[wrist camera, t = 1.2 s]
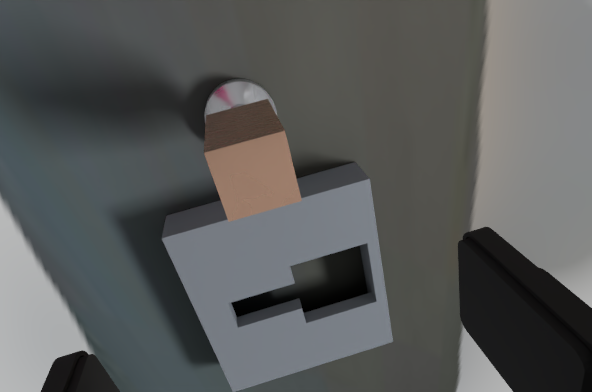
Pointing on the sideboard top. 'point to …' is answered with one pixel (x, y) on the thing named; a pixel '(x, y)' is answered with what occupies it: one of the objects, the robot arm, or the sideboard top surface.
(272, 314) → the keyhole board
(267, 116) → the keyhole peg
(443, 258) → the sideboard top surface
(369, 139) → the sideboard top surface
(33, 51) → the sideboard top surface
